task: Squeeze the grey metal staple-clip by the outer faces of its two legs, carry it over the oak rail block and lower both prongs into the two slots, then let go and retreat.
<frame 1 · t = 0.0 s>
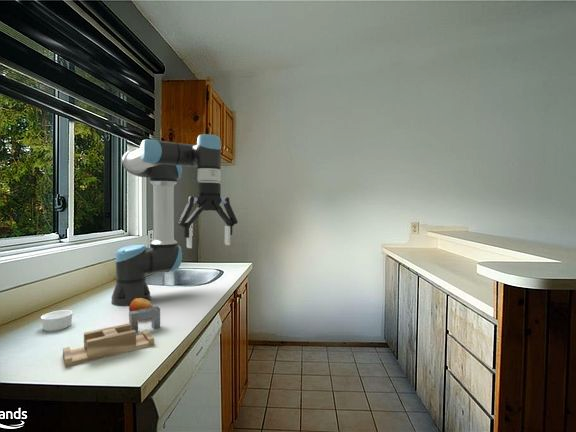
hand: (209, 246, 109), 28 cm above the counter, fingers open, 13 cm apart
clip: (145, 329, 109), on the counter
ramekin: (57, 327, 111), on the counter
rail: (110, 349, 94), on the counter
fruit: (141, 317, 121), on the counter
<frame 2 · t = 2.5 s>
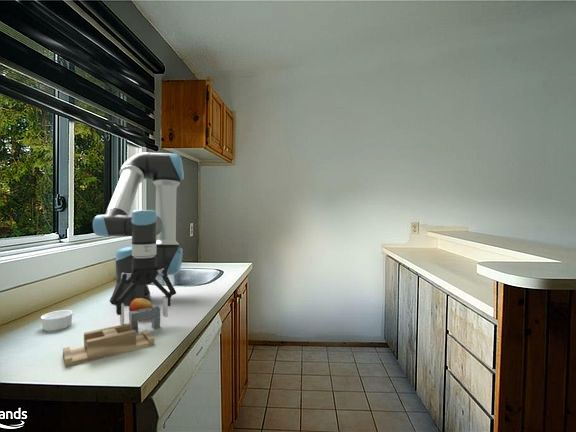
hand: (144, 320, 109), 3 cm above the counter, fingers open, 13 cm apart
nothing on the counter moved.
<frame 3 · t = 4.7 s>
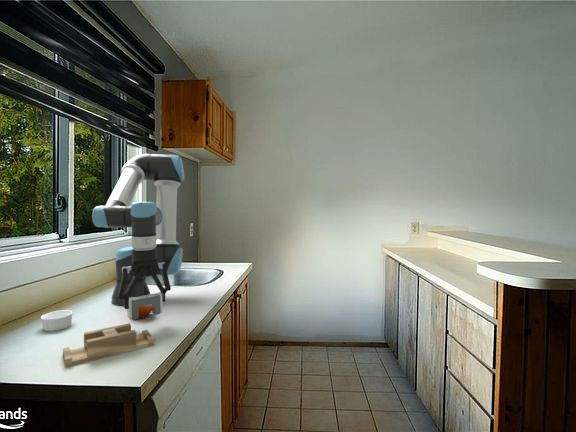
hand: (145, 314, 110), 5 cm above the counter, fingers closed on clip, 9 cm apart
clip: (145, 315, 110), point 4 cm above the counter, touching gripper
everything else where it was.
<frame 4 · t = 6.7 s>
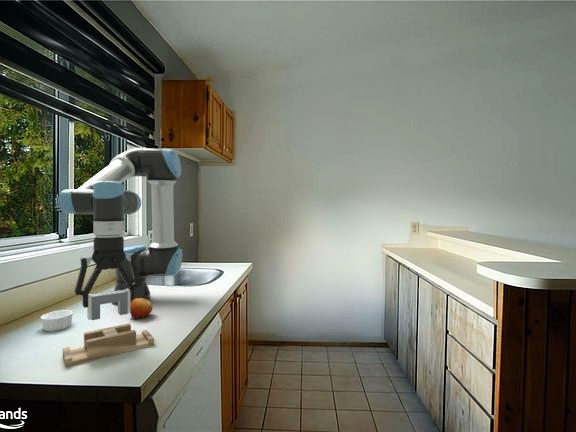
hand: (109, 314, 93), 10 cm above the counter, fingers closed on clip, 9 cm apart
clip: (109, 315, 93), point 10 cm above the counter, touching gripper
everything else where it was.
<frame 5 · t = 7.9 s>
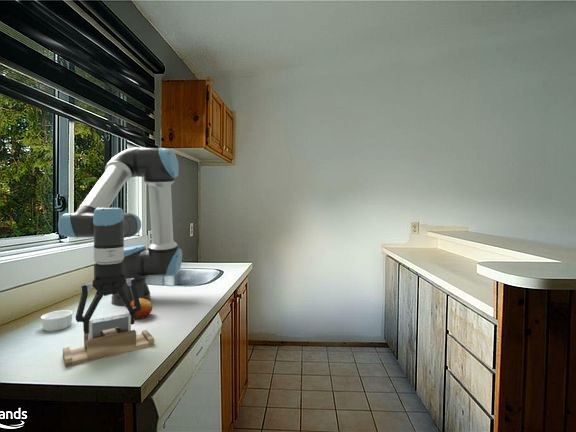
hand: (110, 339, 94), 3 cm above the counter, fingers closed on clip, 9 cm apart
clip: (110, 340, 94), point 3 cm above the counter, touching gripper
everything else where it was.
when the fingers open (2 cm above the counter, at t = 8.8 s): clip stays where it is, resting on rail.
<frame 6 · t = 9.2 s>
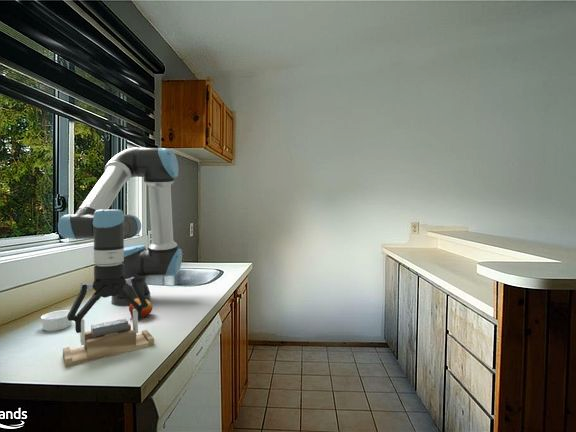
hand: (110, 337, 94), 4 cm above the counter, fingers open, 13 cm apart
clip: (110, 345, 94), point 1 cm above the counter, touching rail
everything else where it was.
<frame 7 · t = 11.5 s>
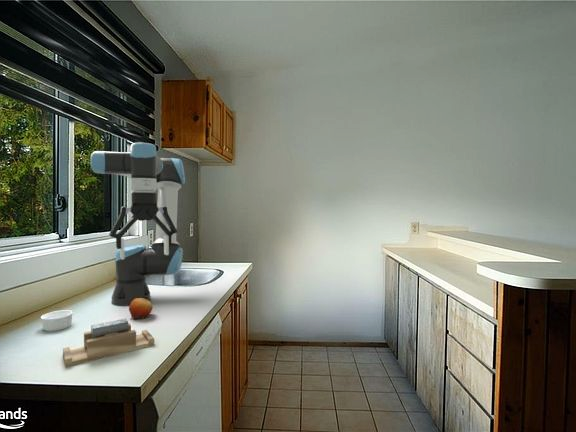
hand: (145, 256, 107), 25 cm above the counter, fingers open, 13 cm apart
nothing on the counter moved.
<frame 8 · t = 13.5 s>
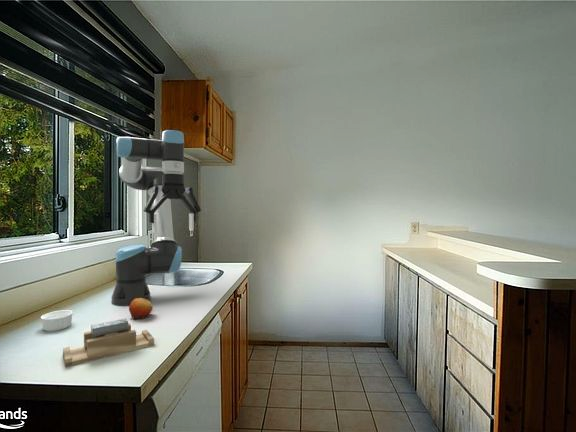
hand: (173, 231, 121), 32 cm above the counter, fingers open, 13 cm apart
nothing on the counter moved.
at the end: clip 0.0 cm off-centre on the rail, point 1.2 cm above the rail's base; clip tilted 0°; the gripper is holding nothing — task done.
